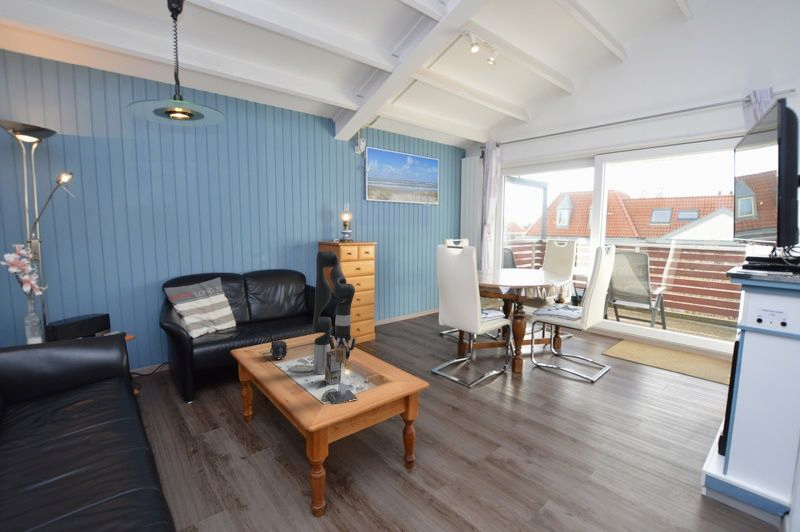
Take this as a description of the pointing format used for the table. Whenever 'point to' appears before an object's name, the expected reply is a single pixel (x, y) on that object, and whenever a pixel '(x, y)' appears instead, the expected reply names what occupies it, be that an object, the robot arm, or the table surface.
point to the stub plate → (339, 399)
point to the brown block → (340, 354)
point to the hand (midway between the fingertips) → (341, 357)
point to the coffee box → (332, 369)
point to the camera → (278, 349)
